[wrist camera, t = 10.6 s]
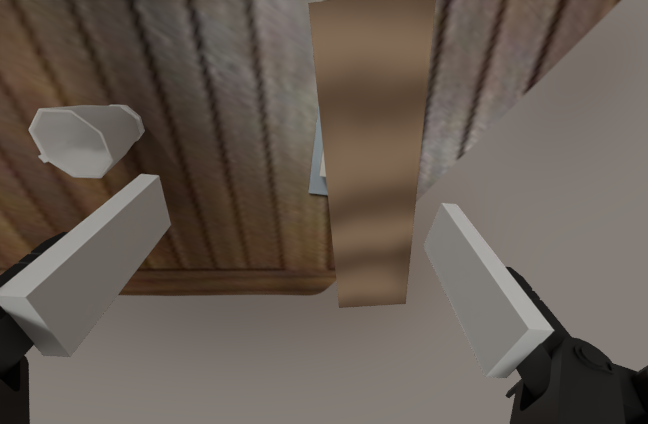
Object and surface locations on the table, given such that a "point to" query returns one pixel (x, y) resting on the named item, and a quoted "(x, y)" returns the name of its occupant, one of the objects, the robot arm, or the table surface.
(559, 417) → the robot arm
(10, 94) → the table surface
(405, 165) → the beam
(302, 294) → the table surface
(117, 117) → the cup
